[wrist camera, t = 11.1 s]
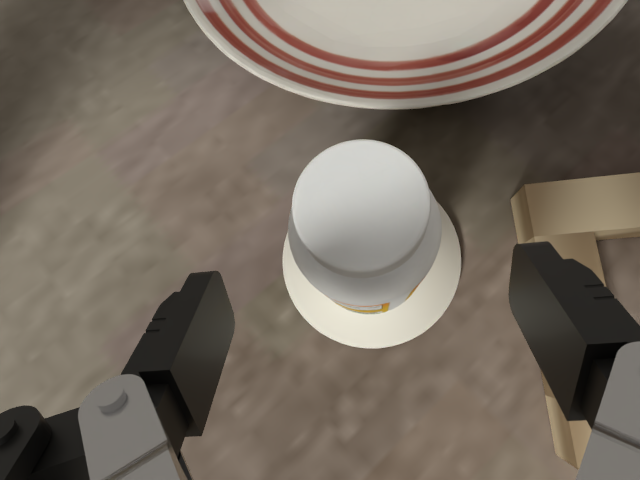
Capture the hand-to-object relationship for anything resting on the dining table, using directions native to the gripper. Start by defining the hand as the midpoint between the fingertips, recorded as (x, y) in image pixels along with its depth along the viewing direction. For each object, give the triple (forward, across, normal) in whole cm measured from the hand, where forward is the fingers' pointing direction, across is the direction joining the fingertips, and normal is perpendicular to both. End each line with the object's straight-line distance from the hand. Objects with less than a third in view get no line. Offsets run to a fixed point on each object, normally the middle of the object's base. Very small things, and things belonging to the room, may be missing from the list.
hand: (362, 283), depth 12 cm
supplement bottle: (+8, 0, +5) cm, 10 cm away
